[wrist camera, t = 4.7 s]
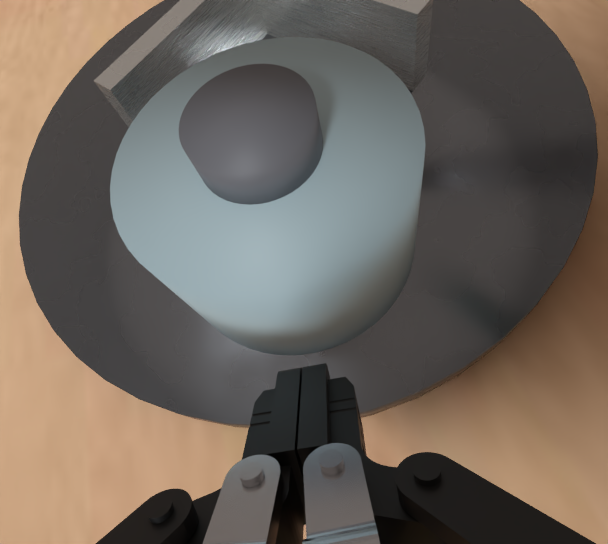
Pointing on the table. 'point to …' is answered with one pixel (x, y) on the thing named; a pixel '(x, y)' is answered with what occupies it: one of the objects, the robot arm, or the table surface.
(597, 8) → the table surface
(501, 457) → the table surface
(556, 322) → the table surface
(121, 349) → the turntable
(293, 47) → the cover
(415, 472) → the robot arm
